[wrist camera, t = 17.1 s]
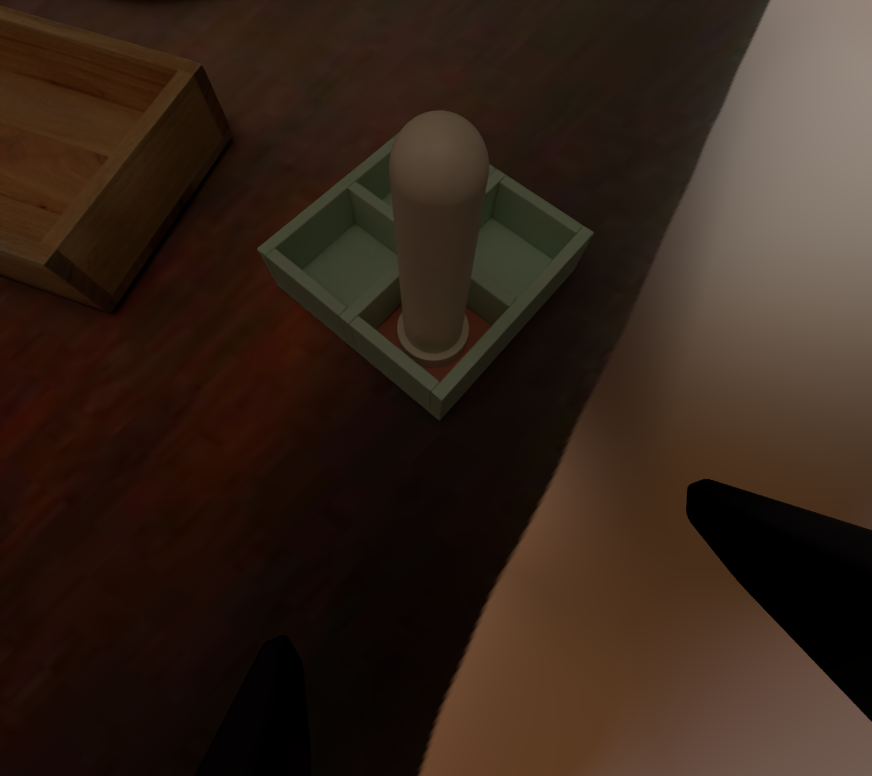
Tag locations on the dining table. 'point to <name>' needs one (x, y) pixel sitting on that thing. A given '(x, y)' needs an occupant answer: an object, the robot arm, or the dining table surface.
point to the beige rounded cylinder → (436, 231)
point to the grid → (379, 276)
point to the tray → (95, 154)
